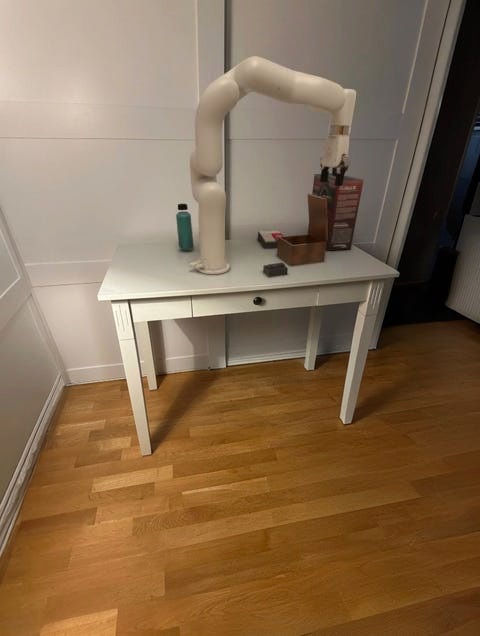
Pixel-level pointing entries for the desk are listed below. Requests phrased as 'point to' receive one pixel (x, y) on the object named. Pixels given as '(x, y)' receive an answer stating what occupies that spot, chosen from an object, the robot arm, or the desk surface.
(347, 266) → the desk surface
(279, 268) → the black capsule on box
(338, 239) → the headset box
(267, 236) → the calculator
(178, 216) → the beverage bottle
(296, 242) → the chest
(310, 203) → the lid
